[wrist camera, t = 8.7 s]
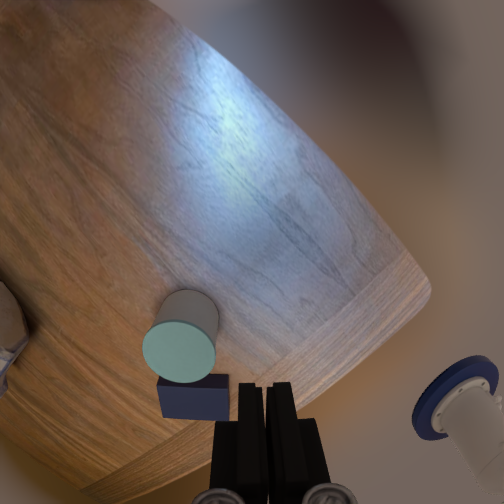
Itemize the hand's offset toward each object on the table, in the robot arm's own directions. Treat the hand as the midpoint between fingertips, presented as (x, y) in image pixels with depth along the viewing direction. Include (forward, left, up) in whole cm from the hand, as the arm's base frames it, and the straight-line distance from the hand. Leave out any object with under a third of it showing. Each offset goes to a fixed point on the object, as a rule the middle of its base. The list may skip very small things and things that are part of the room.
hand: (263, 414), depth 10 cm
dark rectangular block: (+7, +22, -26) cm, 34 cm away
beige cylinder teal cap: (+7, +14, -24) cm, 29 cm away
